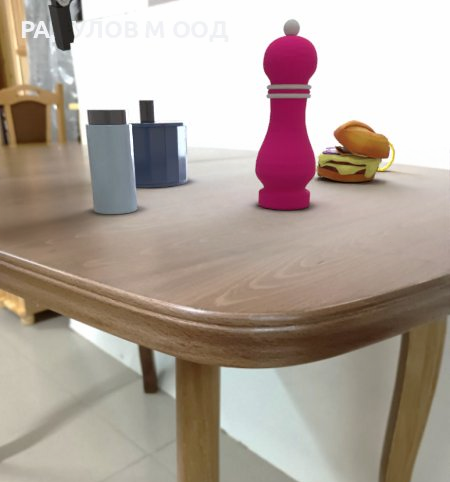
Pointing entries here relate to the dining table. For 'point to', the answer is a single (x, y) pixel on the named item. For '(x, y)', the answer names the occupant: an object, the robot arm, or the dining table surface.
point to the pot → (160, 156)
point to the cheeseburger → (353, 154)
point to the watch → (390, 160)
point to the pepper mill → (287, 123)
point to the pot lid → (153, 117)
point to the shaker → (111, 161)
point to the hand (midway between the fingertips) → (20, 55)
